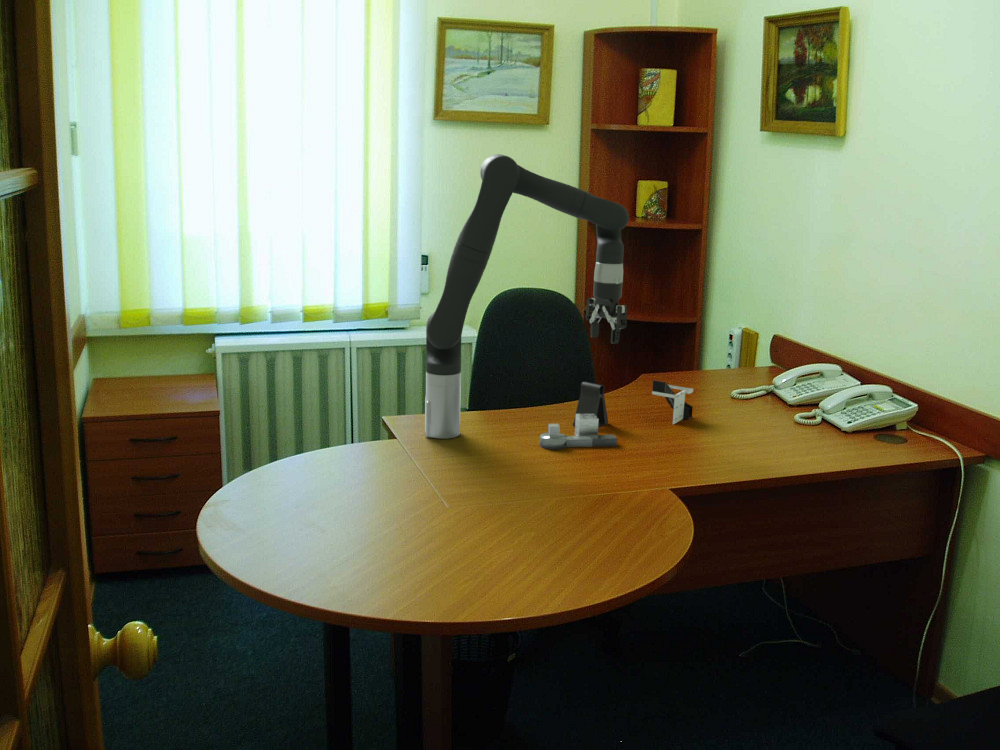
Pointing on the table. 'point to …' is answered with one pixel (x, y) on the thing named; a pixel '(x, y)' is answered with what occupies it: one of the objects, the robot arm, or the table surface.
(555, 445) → the ratchet
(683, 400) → the two-tone angle bracket
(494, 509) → the table surface
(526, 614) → the table surface
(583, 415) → the small white cube
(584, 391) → the dark folded stand
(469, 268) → the robot arm
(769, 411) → the table surface
